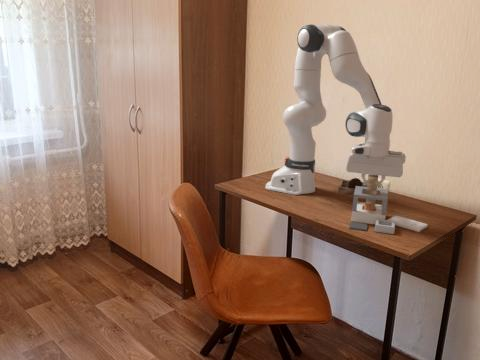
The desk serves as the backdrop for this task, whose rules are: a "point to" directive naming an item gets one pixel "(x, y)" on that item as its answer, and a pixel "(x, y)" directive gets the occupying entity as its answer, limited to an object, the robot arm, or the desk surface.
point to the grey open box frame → (368, 215)
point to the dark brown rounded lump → (354, 183)
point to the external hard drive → (408, 223)
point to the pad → (358, 226)
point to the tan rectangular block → (372, 188)
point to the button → (369, 207)
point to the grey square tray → (384, 226)
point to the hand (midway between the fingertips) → (372, 185)
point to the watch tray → (348, 190)
